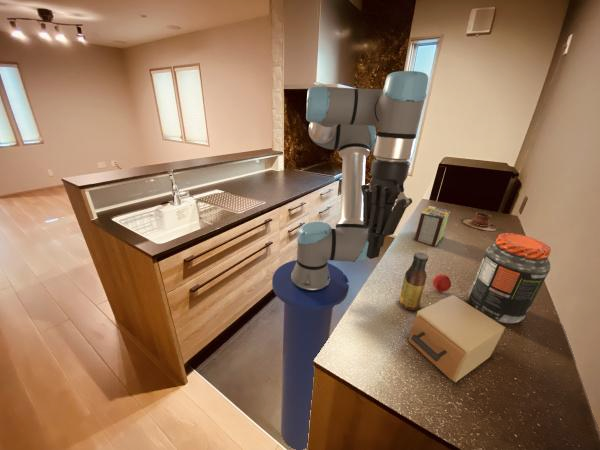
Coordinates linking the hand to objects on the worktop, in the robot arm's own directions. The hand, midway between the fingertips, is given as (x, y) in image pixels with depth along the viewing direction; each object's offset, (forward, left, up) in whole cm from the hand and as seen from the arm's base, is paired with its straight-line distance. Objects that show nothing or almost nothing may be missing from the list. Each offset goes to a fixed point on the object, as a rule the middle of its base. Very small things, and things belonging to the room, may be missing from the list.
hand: (372, 256), depth 61 cm
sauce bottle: (-2, +24, -27) cm, 36 cm away
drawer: (+15, +16, -25) cm, 34 cm away
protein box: (-33, +77, -27) cm, 88 cm away
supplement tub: (+12, +50, -27) cm, 58 cm away
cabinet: (+15, +20, -26) cm, 36 cm away
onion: (-2, +41, -27) cm, 49 cm away
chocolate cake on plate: (-32, +126, -27) cm, 133 cm away
